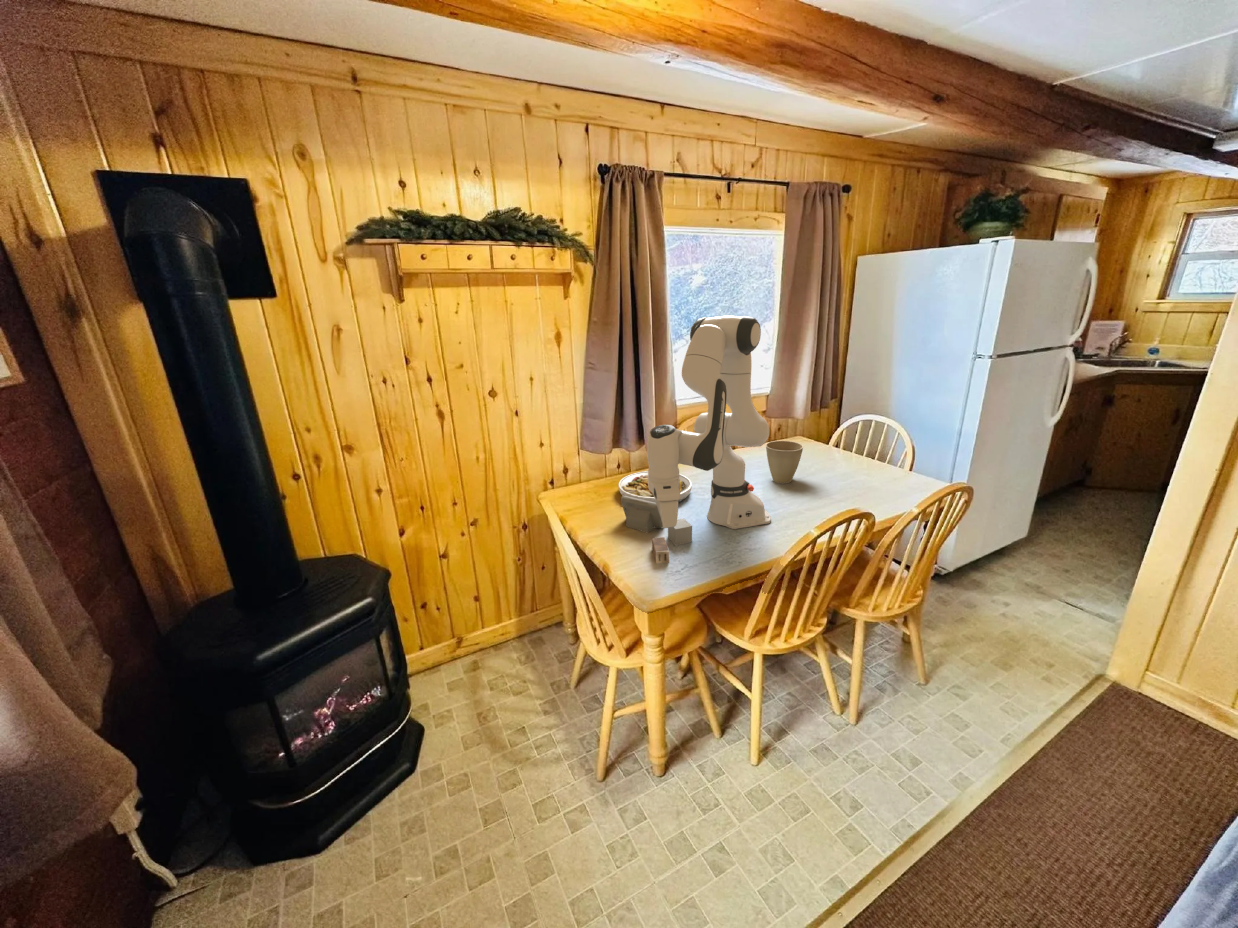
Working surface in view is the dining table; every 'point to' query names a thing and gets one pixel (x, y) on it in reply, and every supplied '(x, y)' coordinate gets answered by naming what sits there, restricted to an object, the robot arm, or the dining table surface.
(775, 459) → the plant pot
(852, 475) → the dining table surface
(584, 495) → the dining table surface
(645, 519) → the digital clock
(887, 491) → the dining table surface
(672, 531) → the grey cube
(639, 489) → the bowl
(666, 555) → the walnut post
